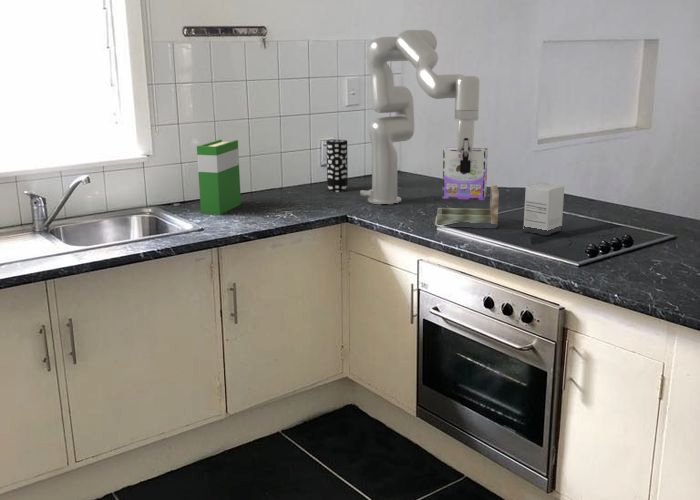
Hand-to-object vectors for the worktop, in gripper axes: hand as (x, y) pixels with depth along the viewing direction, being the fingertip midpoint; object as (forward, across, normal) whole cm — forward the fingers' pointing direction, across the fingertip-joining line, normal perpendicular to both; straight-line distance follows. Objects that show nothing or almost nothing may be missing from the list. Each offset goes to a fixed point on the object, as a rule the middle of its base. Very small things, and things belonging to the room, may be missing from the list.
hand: (464, 170), depth 246 cm
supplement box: (+18, +8, +25) cm, 32 cm away
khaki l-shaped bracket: (+18, 0, +1) cm, 18 cm away
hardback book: (+18, -14, -87) cm, 90 cm away
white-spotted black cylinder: (+18, -52, -50) cm, 75 cm away
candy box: (+9, 0, 0) cm, 9 cm away
